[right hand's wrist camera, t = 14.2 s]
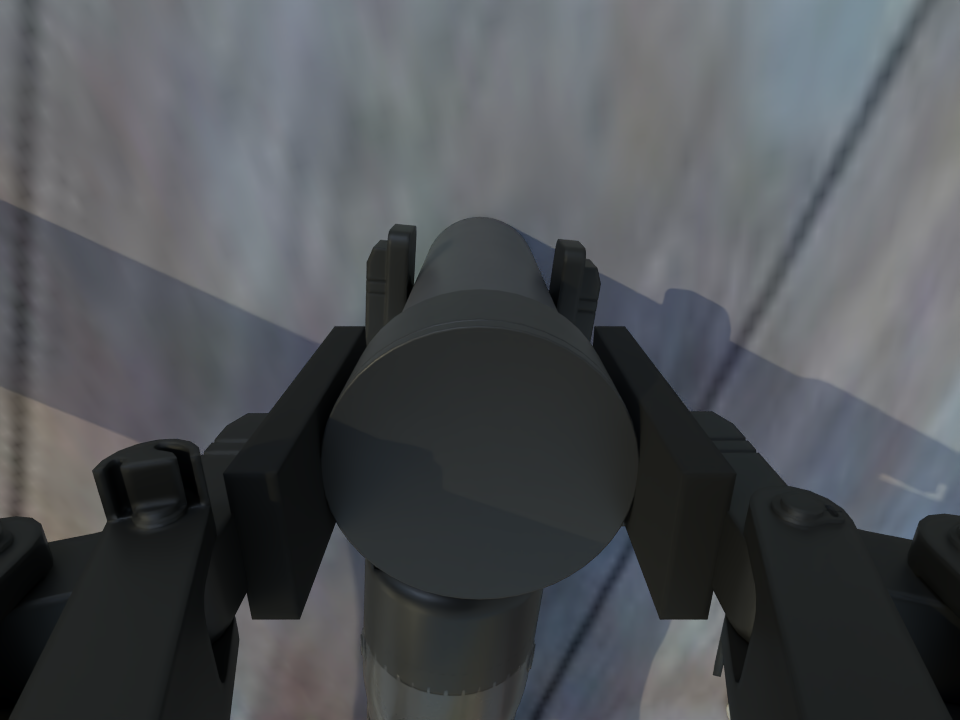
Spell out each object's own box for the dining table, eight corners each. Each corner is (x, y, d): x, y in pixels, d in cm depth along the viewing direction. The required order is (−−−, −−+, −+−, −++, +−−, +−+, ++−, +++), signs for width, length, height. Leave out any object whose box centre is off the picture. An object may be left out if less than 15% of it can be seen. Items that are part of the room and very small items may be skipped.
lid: (335, 288, 11) (300, 326, 9) (623, 288, 11) (658, 325, 9) (359, 523, 13) (335, 600, 11) (600, 523, 13) (624, 600, 11)
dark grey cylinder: (423, 216, 24) (335, 340, 10) (536, 216, 24) (623, 340, 10) (427, 325, 26) (359, 568, 11) (532, 324, 26) (600, 568, 11)
